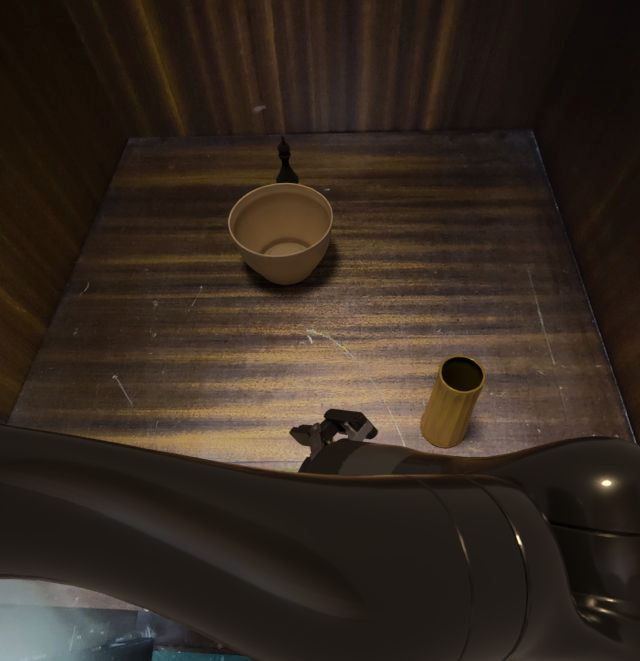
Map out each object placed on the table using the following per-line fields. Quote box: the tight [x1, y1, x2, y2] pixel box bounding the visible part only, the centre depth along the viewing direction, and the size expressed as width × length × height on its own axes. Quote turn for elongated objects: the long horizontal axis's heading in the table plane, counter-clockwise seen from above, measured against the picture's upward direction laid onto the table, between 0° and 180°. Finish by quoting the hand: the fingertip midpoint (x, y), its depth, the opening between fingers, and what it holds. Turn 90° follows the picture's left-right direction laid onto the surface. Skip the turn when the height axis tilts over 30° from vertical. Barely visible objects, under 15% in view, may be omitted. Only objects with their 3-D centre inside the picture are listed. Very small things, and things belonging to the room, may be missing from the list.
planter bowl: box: [227, 183, 334, 286], centre depth 84 cm, size 16×16×11 cm
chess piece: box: [275, 135, 300, 184], centre depth 97 cm, size 4×4×10 cm
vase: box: [419, 353, 487, 449], centre depth 64 cm, size 6×6×14 cm
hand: (271, 469), depth 52 cm, fingers open, 8 cm apart
